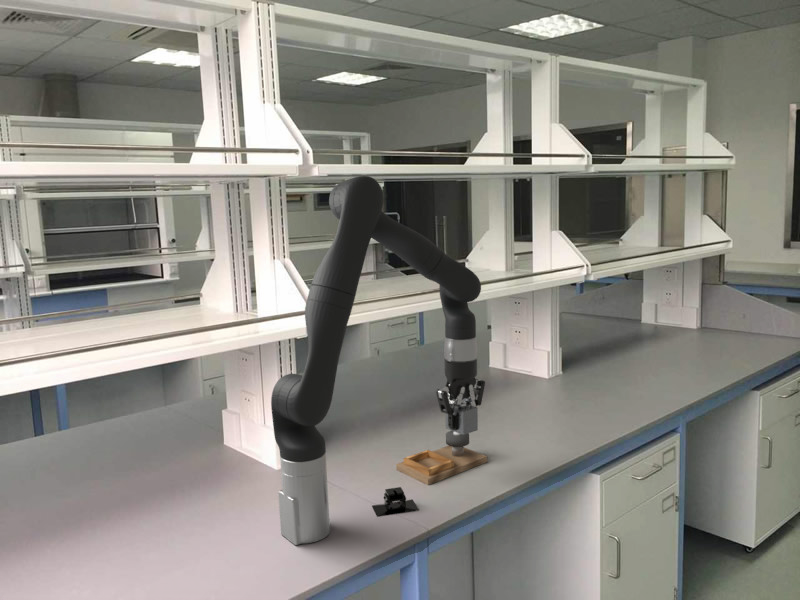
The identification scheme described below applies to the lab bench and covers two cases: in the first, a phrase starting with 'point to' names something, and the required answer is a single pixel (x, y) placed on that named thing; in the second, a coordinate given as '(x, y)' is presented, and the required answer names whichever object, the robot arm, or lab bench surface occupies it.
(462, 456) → the wooden base board
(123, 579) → the lab bench surface
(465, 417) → the grey box with knob
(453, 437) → the wheel
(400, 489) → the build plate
